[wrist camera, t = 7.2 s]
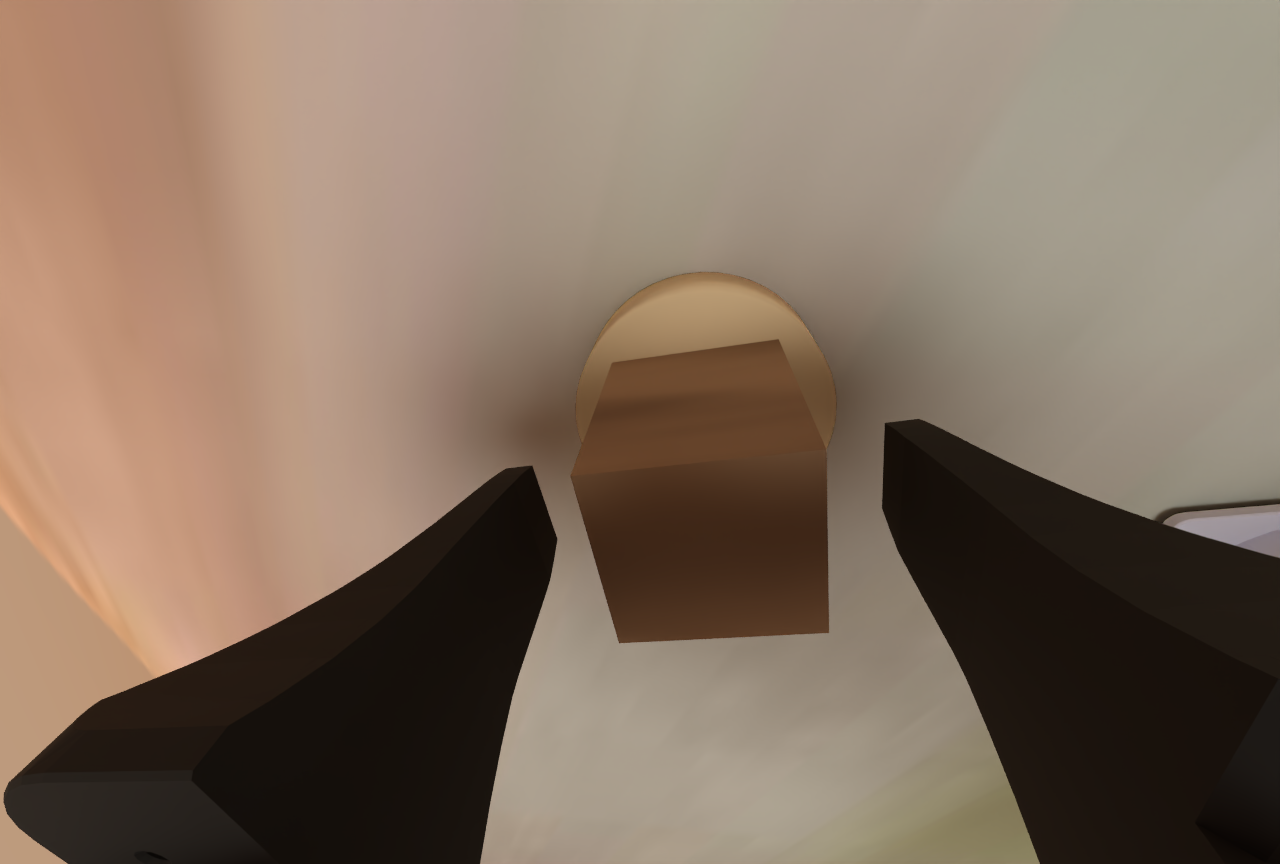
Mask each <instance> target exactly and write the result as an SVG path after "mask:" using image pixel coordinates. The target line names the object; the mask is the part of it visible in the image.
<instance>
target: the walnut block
mask: <svg viewBox="0 0 1280 864" xmlns="http://www.w3.org/2000/svg"><path fill="white" fill-rule="evenodd" d="M571 479H572V483H573V486H574V490H575V493H576V496H577V500H578V503H579V507H580V510H581V514H582V517H583V521H584V524H585V527H586V531H587V534H588V538H589V541H590V545H591V548H592V551H593V555H594V558H595V562H596V565H597V569H598V572H599V575H600V579H601V582H602V586H603V589H604V593H605V596H606V600H607V603H608V606H609V610H610V613H611V617H612V620H613V624H614V627H615V630H616V634H617V637H618V641H619V643H631V642H651V641H672V640H692V639H712V638H732V637H752V636H773V635H793V634H813V633H829V600H828V529H827V457H826V447H825V445H824V443H823V440H822V438H821V436H820V433H819V431H818V429H817V426H816V424H815V422H814V420H813V417H812V415H811V413H810V410H809V408H808V406H807V403H806V401H805V399H804V397H803V394H802V392H801V390H800V387H799V385H798V383H797V380H796V378H795V376H794V374H793V371H792V369H791V367H790V364H789V362H788V360H787V357H786V355H785V353H784V351H783V348H782V346H781V344H780V341H779V339H776V340H769V341H762V342H755V343H748V344H740V345H733V346H726V347H719V348H712V349H705V350H698V351H691V352H683V353H676V354H669V355H662V356H655V357H648V358H641V359H634V360H627V361H619V362H612V364H611V367H610V370H609V372H608V375H607V378H606V380H605V383H604V386H603V389H602V391H601V394H600V397H599V400H598V402H597V405H596V408H595V411H594V413H593V416H592V419H591V422H590V424H589V427H588V430H587V432H586V435H585V438H584V441H583V443H582V446H581V449H580V452H579V454H578V457H577V460H576V463H575V465H574V468H573V471H572V474H571Z"/></svg>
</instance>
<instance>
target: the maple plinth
mask: <svg viewBox="0 0 1280 864" xmlns="http://www.w3.org/2000/svg"><path fill="white" fill-rule="evenodd" d="M776 339H779V341H780V344H781V346H782V348H783V351H784V353H785V355H786V357H787V360H788V362H789V364H790V367H791V369H792V371H793V374H794V376H795V378H796V380H797V383H798V385H799V387H800V390H801V392H802V394H803V397H804V399H805V401H806V403H807V406H808V408H809V410H810V413H811V415H812V417H813V420H814V422H815V424H816V426H817V429H818V431H819V433H820V436H821V438H822V440H823V443H824V445H825V447H826V450H827V447H828V445H829V442H830V439H831V437H832V434H833V429H834V424H835V420H836V404H837V403H836V392H835V385H834V382H833V378H832V374H831V371H830V368H829V366H828V364H827V361H826V359H825V357H824V355H823V354H822V352H821V350H820V349H819V347H818V345H817V344H816V342H815V341H814V339H813V337H812V336H811V334H810V332H809V331H808V329H807V328H806V326H805V324H804V323H803V321H802V320H801V318H800V317H799V316H798V314H797V313H796V312H795V311H794V310H793V309H792V307H791V306H790V305H789V304H787V303H786V302H785V301H784V300H783V299H782V298H781V297H779V296H778V295H777V294H775V293H774V292H772V291H771V290H769V289H767V288H766V287H764V286H762V285H760V284H758V283H755V282H753V281H751V280H748V279H745V278H742V277H738V276H735V275H730V274H723V273H713V272H698V273H689V274H682V275H678V276H674V277H670V278H667V279H664V280H662V281H659V282H657V283H654V284H652V285H650V286H648V287H647V288H645V289H643V290H641V291H639V292H638V293H637V294H635V295H634V296H633V297H631V298H630V299H629V300H627V301H626V302H625V303H624V304H623V305H622V306H621V307H620V308H619V309H618V310H617V311H616V312H615V313H614V314H613V315H612V317H611V318H610V319H609V321H608V322H607V323H606V325H605V327H604V328H603V330H602V332H601V334H600V335H599V337H598V339H597V341H596V343H595V345H594V347H593V350H592V352H591V354H590V356H589V358H588V360H587V362H586V364H585V367H584V369H583V372H582V374H581V377H580V381H579V385H578V389H577V396H576V407H575V408H576V423H577V427H578V432H579V437H580V440H581V442H582V443H583V441H584V438H585V435H586V432H587V430H588V427H589V424H590V422H591V419H592V416H593V413H594V411H595V408H596V405H597V402H598V400H599V397H600V394H601V391H602V389H603V386H604V383H605V380H606V378H607V375H608V372H609V370H610V367H611V364H612V362H619V361H627V360H634V359H641V358H648V357H655V356H662V355H669V354H676V353H683V352H691V351H698V350H705V349H712V348H719V347H726V346H733V345H740V344H748V343H755V342H762V341H769V340H776Z"/></svg>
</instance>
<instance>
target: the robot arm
mask: <svg viewBox="0 0 1280 864" xmlns="http://www.w3.org/2000/svg"><path fill="white" fill-rule="evenodd" d="M882 509H883V512H884V515H885V518H886V520H887V523H888V526H889V529H890V531H891V534H892V537H893V539H894V542H895V544H896V547H897V549H898V552H899V554H900V556H901V558H902V559H903V561H904V563H905V565H906V567H907V569H908V571H909V573H910V574H911V576H912V578H913V580H914V582H915V584H916V585H917V587H918V589H919V591H920V593H921V595H922V596H923V598H924V600H925V602H926V604H927V605H928V607H929V609H930V611H931V613H932V615H933V616H934V618H935V620H936V622H937V624H938V625H939V627H940V629H941V631H942V633H943V635H944V636H945V638H946V640H947V642H948V644H949V645H950V647H951V649H952V651H953V653H954V655H955V657H956V659H957V661H958V663H959V665H960V667H961V669H962V671H963V673H964V675H965V677H966V679H967V681H968V684H969V686H970V688H971V691H972V693H973V696H974V698H975V700H976V703H977V705H978V707H979V710H980V712H981V714H982V717H983V719H984V722H985V724H986V726H987V729H988V731H989V733H990V736H991V738H992V741H993V743H994V746H995V748H996V751H997V753H998V756H999V758H1000V761H1001V763H1002V766H1003V768H1004V771H1005V773H1006V776H1007V778H1008V781H1009V783H1010V786H1011V788H1012V791H1013V793H1014V796H1015V798H1016V801H1017V804H1018V806H1019V809H1020V812H1021V814H1022V817H1023V820H1024V822H1025V825H1026V828H1027V830H1028V833H1029V836H1030V838H1031V841H1032V844H1033V846H1034V849H1035V852H1036V854H1037V857H1038V860H1039V862H1040V864H1280V504H1276V505H1264V506H1253V507H1241V508H1229V509H1218V510H1206V511H1194V512H1183V513H1178V514H1175V515H1173V516H1170V517H1169V518H1167V519H1166V520H1165V521H1164V522H1163V524H1162V523H1159V522H1156V521H1153V520H1150V519H1148V518H1145V517H1142V516H1139V515H1136V514H1133V513H1131V512H1128V511H1125V510H1122V509H1119V508H1116V507H1114V506H1111V505H1108V504H1105V503H1103V502H1100V501H1097V500H1095V499H1092V498H1090V497H1087V496H1084V495H1082V494H1079V493H1077V492H1075V491H1072V490H1070V489H1068V488H1065V487H1063V486H1061V485H1058V484H1056V483H1054V482H1051V481H1049V480H1046V479H1044V478H1042V477H1039V476H1037V475H1035V474H1033V473H1031V472H1029V471H1026V470H1024V469H1022V468H1020V467H1018V466H1015V465H1013V464H1011V463H1009V462H1007V461H1005V460H1003V459H1001V458H999V457H997V456H995V455H993V454H991V453H989V452H987V451H985V450H982V449H980V448H978V447H976V446H974V445H972V444H970V443H969V442H967V441H965V440H963V439H961V438H959V437H957V436H955V435H953V434H951V433H949V432H947V431H945V430H943V429H940V428H938V427H936V426H934V425H932V424H930V423H928V422H925V421H923V420H920V419H914V420H906V421H898V422H889V423H885V436H884V467H883V498H882ZM556 544H557V537H556V534H555V531H554V528H553V525H552V522H551V519H550V516H549V513H548V510H547V507H546V504H545V501H544V499H543V496H542V493H541V490H540V487H539V484H538V481H537V478H536V475H535V472H534V469H533V466H524V467H516V468H508V469H505V470H503V471H502V472H500V473H498V474H497V475H495V476H494V477H493V478H491V479H490V480H489V481H487V482H486V483H485V484H483V485H482V486H481V487H480V488H478V489H477V490H476V491H475V492H473V493H472V494H471V495H470V496H468V497H467V498H466V499H465V500H463V501H462V502H461V503H459V504H458V505H457V506H456V507H454V508H453V509H452V510H451V511H449V512H448V513H447V514H446V515H444V516H443V517H442V518H441V519H439V520H438V521H437V522H436V523H434V524H433V525H432V526H430V527H429V528H428V529H426V530H425V531H424V532H422V533H421V534H419V535H418V536H417V537H415V538H414V539H413V540H411V541H410V542H409V543H407V544H406V545H405V546H403V547H402V548H401V549H399V550H398V551H397V552H395V553H394V554H392V555H391V556H389V557H388V558H387V559H385V560H384V561H382V562H381V563H379V564H378V565H376V566H375V567H373V568H372V569H370V570H369V571H367V572H365V573H364V574H362V575H361V576H359V577H357V578H356V579H354V580H353V581H351V582H350V583H348V584H346V585H345V586H343V587H341V588H340V589H338V590H336V591H335V592H333V593H331V594H329V595H328V596H326V597H324V598H322V599H320V600H319V601H317V602H315V603H313V604H311V605H309V606H308V607H306V608H304V609H302V610H300V611H299V612H297V613H295V614H293V615H291V616H290V617H288V618H286V619H284V620H282V621H280V622H278V623H276V624H275V625H273V626H271V627H269V628H267V629H265V630H262V631H260V632H258V633H256V634H254V635H252V636H250V637H248V638H246V639H244V640H242V641H240V642H238V643H236V644H233V645H231V646H229V647H227V648H225V649H223V650H220V651H218V652H216V653H214V654H212V655H210V656H207V657H205V658H203V659H201V660H198V661H196V662H194V663H191V664H189V665H187V666H184V667H182V668H180V669H177V670H175V671H172V672H170V673H167V674H165V675H162V676H160V677H157V678H155V679H153V680H150V681H148V682H145V683H143V684H140V685H138V686H135V687H133V688H131V689H128V690H126V691H124V692H121V693H118V694H116V695H113V696H110V697H108V698H105V699H102V700H100V701H99V702H97V703H96V704H94V705H93V706H92V707H90V708H89V709H88V710H87V711H85V712H84V713H83V714H82V715H81V716H79V717H78V718H77V719H76V720H75V721H74V722H73V723H72V724H71V725H70V726H69V727H68V728H67V729H66V730H64V731H63V732H62V733H61V734H60V735H59V736H58V737H57V738H56V739H55V740H54V741H53V742H52V743H51V744H49V745H48V746H47V747H46V748H45V749H44V750H43V751H42V752H41V753H40V754H39V755H38V756H37V757H36V758H35V759H34V760H32V761H31V762H30V763H29V764H28V765H27V766H26V767H25V768H24V769H23V770H22V771H21V772H20V773H18V774H17V776H15V777H14V778H13V779H12V780H11V781H10V782H9V783H8V785H7V788H6V790H5V792H4V805H5V808H6V812H7V814H8V815H9V817H10V818H11V819H12V820H13V822H14V823H15V824H16V825H17V826H18V828H20V829H21V830H22V831H23V832H25V833H26V834H27V835H28V836H30V837H31V838H32V839H33V840H35V841H36V842H37V843H39V844H40V845H42V846H43V847H45V848H46V849H48V850H49V851H50V852H52V853H53V854H55V855H56V856H58V857H59V858H61V859H62V860H64V861H65V862H66V863H68V864H480V860H481V854H482V848H483V843H484V837H485V831H486V825H487V819H488V813H489V807H490V801H491V796H492V791H493V786H494V781H495V776H496V771H497V765H498V760H499V755H500V750H501V745H502V741H503V736H504V732H505V727H506V723H507V718H508V714H509V710H510V705H511V701H512V696H513V693H514V689H515V686H516V683H517V679H518V676H519V673H520V670H521V667H522V664H523V661H524V658H525V655H526V652H527V649H528V646H529V643H530V640H531V637H532V634H533V631H534V628H535V625H536V622H537V619H538V616H539V613H540V610H541V607H542V604H543V601H544V598H545V595H546V591H547V588H548V585H549V582H550V578H551V573H552V568H553V562H554V557H555V550H556Z"/></svg>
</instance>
